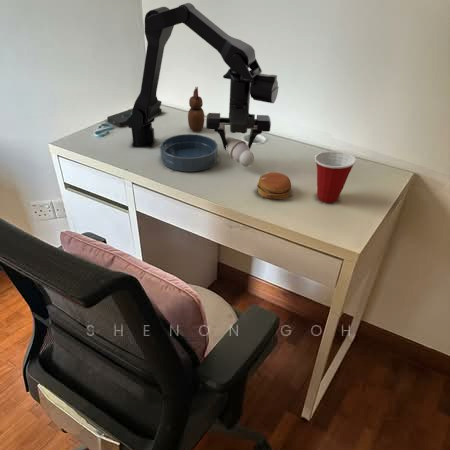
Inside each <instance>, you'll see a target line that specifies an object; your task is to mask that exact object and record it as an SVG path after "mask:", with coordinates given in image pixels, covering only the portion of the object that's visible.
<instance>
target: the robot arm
mask: <svg viewBox="0 0 450 450" xmlns="http://www.w3.org/2000/svg"><path fill="white" fill-rule="evenodd" d="M180 24H183V25H185V26H186V27H187V28H188V29H190V30H191V31H192V32H193V33H195V34H196V35H197V36H198V37H200V38H201V39H202V40H204V41H205V42H206V43H207V44H208V45H210V46H211V47H212V48H213V49H214V50H216V51H217V52H218V54H219V55H220V57H221V58H222V60H223V62H224V63H225V64H226V65H227V67H228V68H229V69H228V70H227V71H226V73H225V74H223V75H222V78H223V79H226V80H230V82H229V84H230V85H229V104H228V105H229V107H228V108H229V109H228V117H221V113H220V112H219V113H218V112H208V113H207V114H206V118H205V119H206V120H205V121H206V122H205V123H206V124H205V128H206V129H207V130H213V131H214V132H215V133H217V134H219V137H220V139H221V143H222V145H223V146H222V147H223V149H224V151H227V146H226V136H227V135H226V126H229V132H230V133H231V134H237V133H238V134H247V132H248V129H249V130H250V132H249V137H248V144H247V145H248V147H249V148H250V149H251V148H252V147H253V143H254V141H255V139H256V138H257V136H258V135H261V134H262V133H263V132H265V133H268V132H269V133H270V132H271V126H272V122H271V117H270V116H269V114H265V115H264V114H254V113H250V102H251V99H253V101H257V102H263V103H267V104H274V103H275V102H276V101H277V98H278V94H279V82H278V75H277V74H266V73H263V70H262V68H261V67H260V63H259V62H258V60H257V58H256V51H255V48H253V46H252V45H250V44H248V43H247V42H245V41H243V40H241V39H239V38H236V37H234V36H231V35H229V34H228V33H227V32H225V31H224V30H223V29H222V28H220V27H219V26H218V25H216V23H214V22H213V21H212V20H210V19H209V18H208V17H207V16H206V15H204V14H203V13H202V12H201V11H200V10H198V9H197V8H196V7H195V5H194V4H192V3H191V2H186V3H183V4H180V5H178V6H177V7H173V8H169V7H167V6H160V7H157V8H154V9H150V10H149V11H147V12H146V13H145V15H144V35H145V39H146V42H147V43H146V45H147V46H146V53H145V59H144V65H143V72H142V79H141V86H140V92H139V94H138V96H137V97H136V99H135V101H134V104H133V106H132V109H133V110H132V115H131V116H130V117H129V118H128V119H127V121H126V123H127V125H126V126H127V127H128V129H131V136H132V144H131V145H132V147H136V148H137V147H140V148H152V147H153V144H154V142H155V140H156V137H155V128H154V127H153V124H152V123H154V122H155V118H156V117H157V116H159V115H160V114H159V113H160V109H161V105H162V101H161V100H159V99H158V96H157V91H158V86H159V81H160V74H161V69H162V64H163V63H162V62H163V57H164V51H165V47H166V45H167V44H168V41H169V39H170V37H171V36H172V33H173V31H174V27H175V26H177V25H180ZM158 114H159V115H158Z"/></svg>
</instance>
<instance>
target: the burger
mask: <svg viewBox="0 0 450 450" xmlns="http://www.w3.org/2000/svg"><path fill="white" fill-rule="evenodd" d="M291 189H292V181H291V179H290V178H289V176H288V175H287V174H284V173H281V172H276V171H275V172H274V171H269V172H266V173H264V174H263V175H260V176H259V179H258V182H257V189H256V190H257V194H258V195H259V196H261V197H262V198H264V199H275V200H283V199H287V198H289V196H290V195H291V192H292V191H291Z"/></svg>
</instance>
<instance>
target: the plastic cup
mask: <svg viewBox="0 0 450 450" xmlns="http://www.w3.org/2000/svg"><path fill="white" fill-rule="evenodd" d="M314 162H315V164H316V196H317V199H318V200H319V201H320V202H322V203H325V204H334V203H336V202H337V201H338V199H339V198H340V195H341V193H342V192H343V190H344V187H345V185H346V182H347V180H348V177H349V175H350V173H351V171H352V169H353V167H354V165H355V164H356V162H357V158H356V156H355V155H353V154H351V153H348V152H346V151H340V150H327V151H326V150H325V151H321V152H319V153H317V154H316V155H315V156H314Z"/></svg>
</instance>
